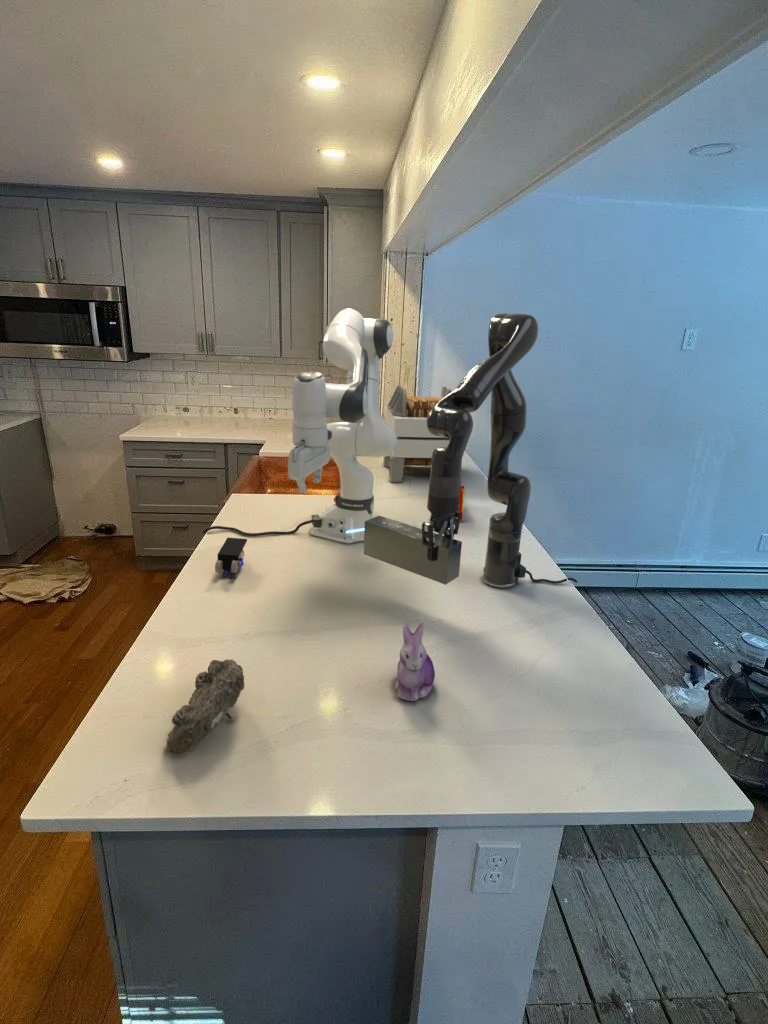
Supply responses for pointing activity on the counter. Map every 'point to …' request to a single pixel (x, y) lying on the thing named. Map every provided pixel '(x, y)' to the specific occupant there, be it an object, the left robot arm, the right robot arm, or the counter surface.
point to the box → (411, 549)
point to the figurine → (414, 666)
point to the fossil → (206, 705)
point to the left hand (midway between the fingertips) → (309, 487)
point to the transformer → (411, 431)
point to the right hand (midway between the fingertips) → (439, 555)
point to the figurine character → (230, 556)
